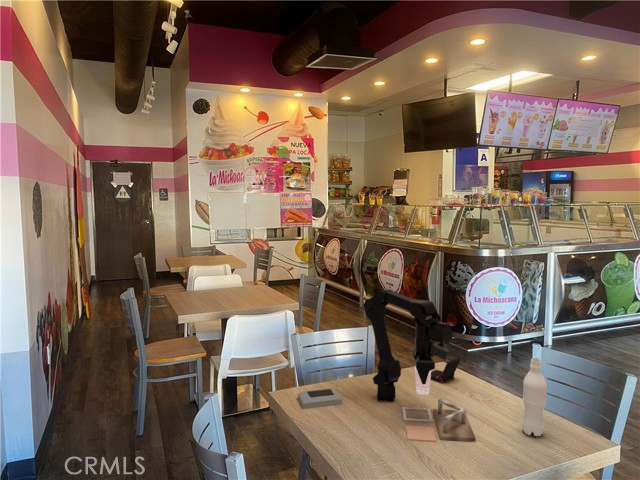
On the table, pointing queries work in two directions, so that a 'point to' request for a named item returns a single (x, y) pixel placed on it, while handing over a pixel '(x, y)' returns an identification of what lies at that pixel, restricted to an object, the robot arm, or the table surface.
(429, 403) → the table surface
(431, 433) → the end mat
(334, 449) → the table surface
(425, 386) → the beverage cup
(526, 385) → the water bottle
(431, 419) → the frame
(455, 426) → the wire board
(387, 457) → the table surface
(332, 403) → the keypad
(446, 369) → the dark piece
